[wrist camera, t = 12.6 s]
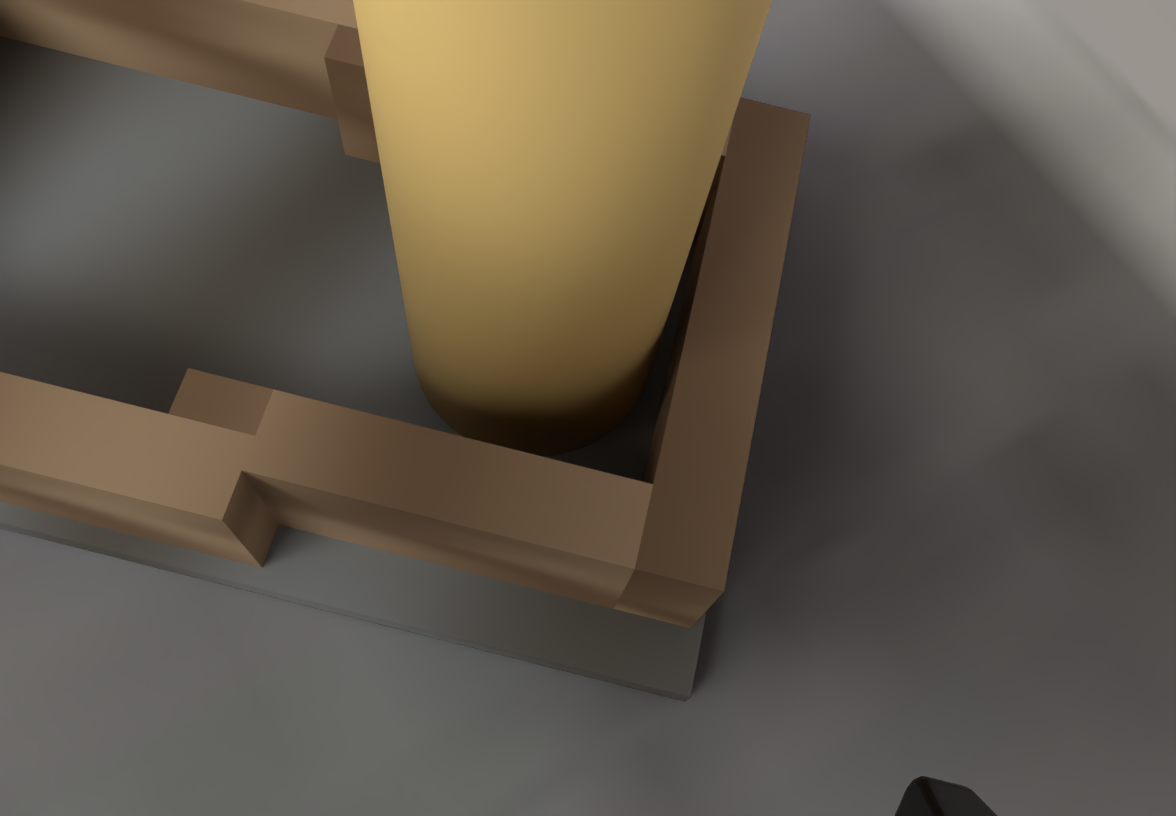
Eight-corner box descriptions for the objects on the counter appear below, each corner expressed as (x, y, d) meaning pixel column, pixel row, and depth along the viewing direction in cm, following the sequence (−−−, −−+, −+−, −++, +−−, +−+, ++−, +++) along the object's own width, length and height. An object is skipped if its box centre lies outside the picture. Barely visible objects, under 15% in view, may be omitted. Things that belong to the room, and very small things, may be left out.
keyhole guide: (784, 178, 20) (831, 70, 17) (684, 701, 16) (725, 671, 13) (-35, -23, 20) (-119, -163, 17) (-337, 442, 16) (-510, 359, 13)
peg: (612, 488, 16) (928, -456, 4) (376, 412, 17) (71, -692, 5) (677, 283, 18) (1038, -821, 6) (461, 215, 18) (396, -989, 6)
